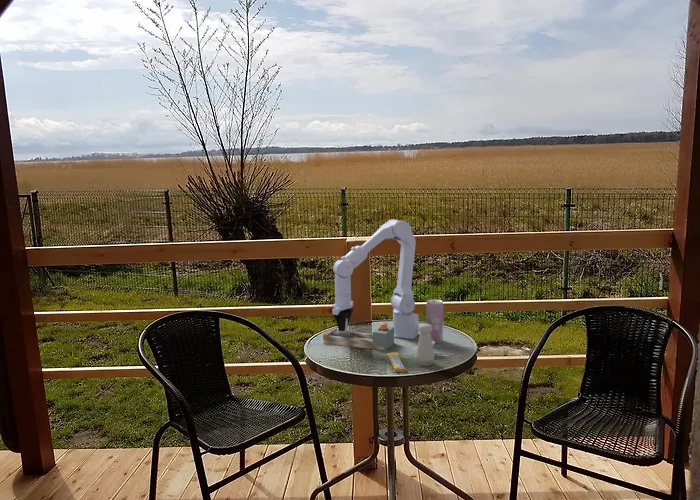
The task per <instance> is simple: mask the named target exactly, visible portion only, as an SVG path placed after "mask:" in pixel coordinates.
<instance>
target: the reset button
mask: <svg viewBox="0 0 700 500" xmlns="http://www.w3.org/2000/svg"><path fill="white" fill-rule="evenodd" d="M387 326H388V323H387V322H380V323H379V327H380V331H387Z"/></svg>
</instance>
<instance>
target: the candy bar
mask: <svg viewBox="0 0 700 500" xmlns="http://www.w3.org/2000/svg"><path fill="white" fill-rule="evenodd" d="M386 356H387V358H388V359H389V362H390V364H391V366H392V368H394V369H393V370H394V373H397V372H399V373H405V372H404V371H406V372H408V368H407V367H405V366H404V364H403V362H402V360H401V358H400V352H397V351H396V352H386Z"/></svg>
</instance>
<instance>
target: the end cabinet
mask: <svg viewBox="0 0 700 500" xmlns="http://www.w3.org/2000/svg"><path fill="white" fill-rule="evenodd" d="M372 334H373V346H376V347H377V346H381V347H383V350H381V349H380V350H379V349H377V350H379V351H387V350H388V349H390V348H391V347H392V346H393V345H394V344H395V337H394V327H393V326H388V325H387V331H380V326H378V327H377V328H376V329H375V330H373V331H372ZM372 350H375V349H374V348H373V349H372Z"/></svg>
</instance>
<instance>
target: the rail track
mask: <svg viewBox="0 0 700 500" xmlns="http://www.w3.org/2000/svg"><path fill="white" fill-rule="evenodd" d="M337 330H338V327H337V328H336V327H333V328H331V329H329V330H328V331H327V332H324V333H323V335H322V337H323V338H322V339H323V341H322V342H323V344H328V345H338V346H346V347H353V348H354V347H355V348H363V349H371V350H378V349H379V351H384V350H383V347H381V346H377V347H376V346H373V333H364V332H355V331H354V336H353V337H352V338H348V337H339V336H333V333H334V332H335V331H337ZM373 348H374V349H373ZM380 349H381V350H380Z"/></svg>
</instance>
